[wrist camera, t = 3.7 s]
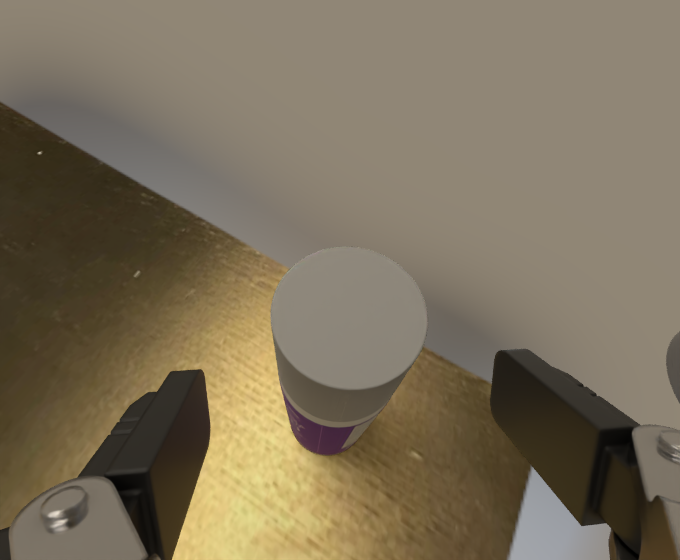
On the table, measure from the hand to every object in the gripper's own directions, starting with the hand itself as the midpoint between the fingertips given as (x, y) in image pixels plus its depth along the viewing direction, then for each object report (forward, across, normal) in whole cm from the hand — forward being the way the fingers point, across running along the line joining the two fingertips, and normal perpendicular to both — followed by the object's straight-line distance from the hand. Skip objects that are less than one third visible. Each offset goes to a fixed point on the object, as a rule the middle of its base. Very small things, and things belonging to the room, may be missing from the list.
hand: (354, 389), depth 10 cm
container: (+12, 0, +9) cm, 15 cm away
